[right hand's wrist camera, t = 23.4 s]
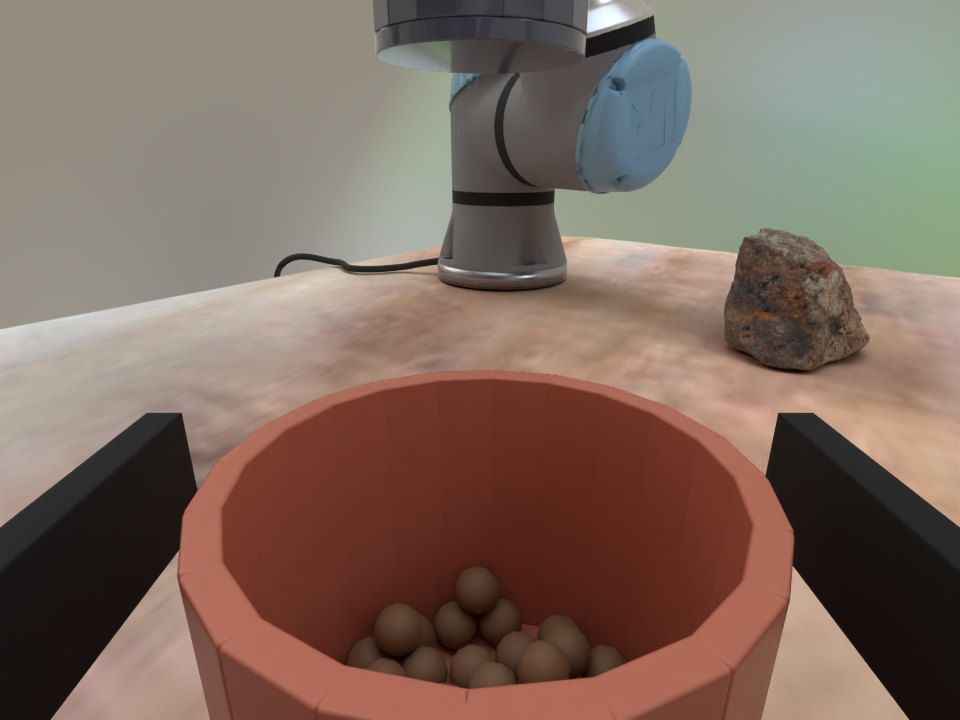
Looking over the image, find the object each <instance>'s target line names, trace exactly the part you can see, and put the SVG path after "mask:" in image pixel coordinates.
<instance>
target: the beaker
mask: <svg viewBox="0 0 960 720" xmlns="http://www.w3.org/2000/svg"><path fill="white" fill-rule="evenodd" d="M588 11H589V0H373V19H374V37H375V55H376V57H377V58H378V59H379V60H381V61H383V62H385V63H388V64H391V65H395V66H399V67H404V68H410V69H417V70H425V71H435V72H449V73H474V74H498V73H523V72H536V71H545V70H553V69H559V68H564V67H568V66H572V65H575V64H577V63H580V62H581V61H583V60H584V58H585V53H586V39H587V26H588Z"/></svg>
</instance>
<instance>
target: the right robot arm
mask: <svg viewBox="0 0 960 720" xmlns="http://www.w3.org/2000/svg"><path fill="white" fill-rule="evenodd" d="M766 478H767V479H768V480H769V482H770V484H771V486H772V488H773V490H774V492H775V494H776V496H777V498H778V500H779V502H780V504H781V506H782V509H783V511H784V513H785V515H786V517H787V519H788V521H789V523H790V525H791V527H792V529H793V531H794V534H793V535H794V538H795V541H794V554H793V567H794V568H795V569H796V571H797V572H798V573H799V575H800V576H801V577H802V578H803V580H804V581H805V582H806V584H807V585H808V586H809V588H810V589H811V590H812V592H813V593H814V594H815V596H816V597H817V598H818V600H819V601H820V602H821V604H822V605H823V606H824V608H825V609H826V610H827V611H828V613H829V614H830V615H831V617H832V618H833V619H834V621H835V622H836V623H837V625H838V626H839V627H840V629H841V630H842V631H843V633H844V634H845V635H846V637H847V638H848V639H849V641H850V642H851V643H852V644H853V646H854V647H855V648H856V650H857V651H858V652H859V654H860V655H861V656H862V658H863V659H864V660H865V662H866V663H867V664H868V666H869V667H870V668H871V670H872V671H873V672H874V674H875V675H876V676H877V677H878V679H879V680H880V681H881V683H882V684H883V685H884V687H885V688H886V689H887V691H888V692H889V693H890V695H891V696H892V697H893V699H894V700H895V701H896V703H897V704H898V705H899V707H900V708H901V709H902V710H903V712H904V713H905V714H906V716H907V717H908V718H909V720H960V527H958V526H957V525H956V524H955V523H953V522H952V521H951V520H950V519H948V518H947V517H946V516H944V515H943V514H942V513H941V512H939V511H938V510H937V509H935V508H934V507H933V506H932V505H930V504H929V503H928V502H926V501H925V500H924V499H923V498H921V497H920V496H919V495H918V494H916V493H915V492H914V491H912V490H911V489H910V488H909V487H907V486H906V485H905V484H903V483H902V482H901V481H900V480H898V479H897V478H896V477H894V476H893V475H892V474H891V473H889V472H888V471H887V470H886V469H884V468H883V467H882V466H880V465H879V464H878V463H877V462H875V461H874V460H873V459H871V458H870V457H869V456H868V455H866V454H865V453H864V452H862V451H861V450H860V449H859V448H857V447H856V446H855V445H854V444H852V443H851V442H850V441H848V440H847V439H846V438H845V437H843V436H842V435H841V434H839V433H838V432H837V431H836V430H834V429H833V428H832V427H831V426H829V425H828V424H827V423H825V422H824V421H823V420H822V419H820V418H819V417H818V416H816V415H815V414H814V413H778V417H777V422H776V427H775V432H774V437H773V442H772V447H771V452H770V457H769V462H768V467H767V471H766ZM196 492H197V486H196V481H195V476H194V471H193V467H192V462H191V457H190V452H189V447H188V442H187V437H186V432H185V427H184V422H183V417H182V413H146V414H145V415H144V416H142V417H141V418H140V419H138V420H137V421H136V422H135V423H133V424H132V425H131V426H129V427H128V428H127V429H126V430H124V431H123V432H122V433H121V434H119V435H118V436H117V437H115V438H114V439H113V440H112V441H110V442H109V443H108V444H106V445H105V446H104V447H103V448H101V449H100V450H99V451H97V452H96V453H95V454H94V455H92V456H91V457H90V458H89V459H87V460H86V461H85V462H83V463H82V464H81V465H80V466H78V467H77V468H76V469H74V470H73V471H72V472H71V473H69V474H68V475H67V476H66V477H64V478H63V479H62V480H60V481H59V482H58V483H57V484H55V485H54V486H53V487H51V488H50V489H49V490H48V491H46V492H45V493H44V494H42V495H41V496H40V497H39V498H37V499H36V500H35V501H34V502H32V503H31V504H30V505H28V506H27V507H26V508H25V509H23V510H22V511H21V512H19V513H18V514H17V515H16V516H14V517H13V518H12V519H10V520H9V521H8V522H7V523H5V524H4V525H3V526H2V527H0V720H51V718H52V717H53V716H54V714H55V713H56V712H57V710H58V709H59V708H60V707H61V705H62V704H63V703H64V701H65V700H66V699H67V697H68V696H69V695H70V693H71V692H72V691H73V689H74V688H75V687H76V685H77V684H78V683H79V681H80V680H81V679H82V677H83V676H84V675H85V674H86V672H87V671H88V670H89V668H90V667H91V666H92V664H93V663H94V662H95V660H96V659H97V658H98V656H99V655H100V654H101V652H102V651H103V650H104V648H105V647H106V646H107V644H108V643H109V642H110V641H111V639H112V638H113V637H114V635H115V634H116V633H117V631H118V630H119V629H120V627H121V626H122V625H123V623H124V622H125V621H126V619H127V618H128V617H129V615H130V614H131V613H132V611H133V610H134V609H135V608H136V606H137V605H138V604H139V602H140V601H141V600H142V598H143V597H144V596H145V594H146V593H147V592H148V590H149V589H150V588H151V586H152V585H153V584H154V582H155V581H156V580H157V578H158V577H159V576H160V574H161V573H162V572H163V571H164V569H165V568H166V567H167V565H168V564H169V563H170V561H171V560H172V559H173V557H174V556H175V555H176V553H177V552H178V551H179V549H180V538H181V526H182V517H183V515H184V511H185V509H186V508H187V506H188V505H189V503H190V502H191V500H192V499H193V497H194V496H195V494H196Z"/></svg>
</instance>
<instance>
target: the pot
mask: <svg viewBox="0 0 960 720" xmlns="http://www.w3.org/2000/svg"><path fill="white" fill-rule="evenodd" d="M793 534H794V531H793V529H792V527H791V525H790V523H789V521H788V519H787V517H786V515H785V513H784V511H783V509H782V506H781V504H780V502H779V500H778V498H777V496H776V494H775V492H774V490H773V488H772V486H771V484H770V482H769V480H768V479H767V478H766V476H765V475H764V474H763V473H762V472H761V471H760V470H759V469H758V468H756V467H755V466H754V465H753V464H752V463H751V462H750V461H749V460H748V459H747V458H746V457H745V456H744V455H742V454H741V453H740V452H739V451H738V450H737V449H736V448H735V447H734V446H733V445H732V444H731V443H729V442H728V441H727V440H726V439H725V438H724V437H722V436H720V435H719V434H717V433H716V432H714V431H712V430H710V429H708V428H707V427H705V426H703V425H701V424H699V423H698V422H696V421H694V420H692V419H690V418H689V417H687V416H685V415H683V414H681V413H680V412H678V411H676V410H674V409H672V408H670V407H667V406H666V405H663V404H660V403H658V402H655V401H652V400H649V399H646V398H643V397H640V396H637V395H635V394H632V393H629V392H626V391H623V390H620V389H617V388H614V387H610V386H607V385H602V384H597V383H592V382H587V381H582V380H577V379H572V378H567V377H562V376H557V375H550V374H538V373H525V372H512V371H499V370H494V371H492V370H478V371H452V372H435V373H426V374H420V375H414V376H407V377H401V378H395V379H388V380H382V381H377V382H371V383H368V384H365V385H361V386H358V387H355V388H351V389H348V390H344V391H341V392H338V393H334V394H331V395H328V396H324V397H321V398H319V399H317V400H314V401H312V402H310V403H308V404H306V405H304V406H302V407H300V408H298V409H295V410H293V411H291V412H289V413H287V414H285V415H283V416H281V417H279V418H277V419H275V420H273V421H271V422H269V423H267V424H265V426H262V427H260V428H259V429H258V430H256V431H255V432H254V433H253V434H251V435H250V436H249V437H248V438H246V439H245V440H244V441H243V442H241V443H240V444H239V445H238V446H236V447H235V448H234V449H232V450H231V451H230V452H229V453H227V454H226V455H225V456H224V457H222V458H221V459H220V460H219V461H218V462H217V464H215V465H214V466H213V468H212V469H211V471H210V472H209V474H208V475H207V477H206V479H205V480H204V482H203V483H202V485H201V486H200V488H199V489H198V491H197V492H196V494H195V496H194V497H193V499H192V500H191V502H190V503H189V505H188V506H187V508H186V509H185V511H184V515H183V517H182V526H181V538H180V549H179V561H178V573H177V578H178V582H179V587H180V591H181V596H182V600H183V604H184V608H185V613H186V617H187V621H188V626H189V630H190V634H191V639H192V643H193V647H194V652H195V656H196V660H197V664H198V669H199V673H200V677H201V682H202V686H203V690H204V695H205V699H206V703H207V708H208V712H209V716H210V720H761V717H762V713H763V709H764V705H765V700H766V696H767V692H768V688H769V684H770V680H771V676H772V672H773V667H774V663H775V659H776V655H777V651H778V647H779V643H780V638H781V634H782V630H783V626H784V622H785V618H786V614H787V610H788V605H789V601H790V592H791V579H792V567H793V554H794V541H795V538H794V535H793ZM473 566H478V567H485V568H487V569H488V570H489V571H491V572H492V573H493V574H494V575H495V576H496V578H497V581H498V583H499V585H500V590H499V598H502V599H508V600H510V601H511V602H512V603H513V604H515V605H516V606H517V607H518V609H519V612H520V614H521V616H522V627H521V632H524V633H528V634H529V635H530V636H532V637H533V638H534V639H536V640H537V638H538V629H539V627H540V626H541V624H542V623H543V622H544V620H545V619H546V618H548V617H550V616H551V615H553V614H560V615H566V616H569V617H570V618H571V619H572V620H574V621H575V622H576V623H577V625H578V627H579V628H580V630H581V632H582V633H584V635H585V637H586V638H587V640H588V642H589V644H590V646H591V649H593V648H595V647H596V646H598V645H599V644H600V645H605V646H610V647H614V648H615V649H617V650H618V651H619V652H620V653H621V654H623V656H624V658H625V659H626V661H627V663H626V664H623V665H621V666H619V667H616V668H614V669H612V670H609V671H607V672H605V673H602V674H600V675H598V676H595V677H590V678H582V677H581V675H579V676H578V677H576V678H574V679H569V680H559V681H548V682H537V683H527V684H516V685H506V686H495V687H485V688H474V689H465V688H460V687H455V686H450V685H444V684H439V683H434V682H429V681H423V680H418V679H413V678H408V677H402V676H397V675H392V674H387V673H381V672H376V671H371V670H366V669H360V668H355V667H350V666H346V664H347V658H348V653H349V651H350V650H351V649H352V648H353V646H354V645H355V644H356V642H358V641H360V640H362V639H364V638H366V637H369V636H370V637H375V635H374V630H375V623H376V618H377V617H378V616H379V614H380V613H381V612H382V610H383V609H384V608H385V607H388V606H390V605H392V604H395V603H400V604H406V605H409V606H410V607H412V608H413V609H414V610H416V611H417V612H419V613H421V614H422V615H424V616H425V617H426V618H428V619H429V620H430V623H431V625H432V628H433V627H434V618H435V615H436V613H437V612H438V611H439V609H440V608H441V607H442V605H444V604H447V603H449V602H451V601H457V602H458V600H457V598H456V595H455V589H456V580H457V579H458V578H459V576H460V575H461V574H462V572H463V571H464V570H466V569H468V568H471V567H473ZM475 616H476V618H477V621H478V622H477V632H476V635H475V637H474V638H473V639H472V641H471V642H470V643H469V644H472V645H477V646H482V647H483V648H485V649H486V650H487V651H489V652H490V653H491V654H492V655H493V657H494V660H495V657H496V647H497V646H498V645H495V644H492V643H491V642H489V641H488V640H486V639H485V638H484V637H483V636H482V633H481V631H480V628H479V626H478V623H479V614H476V613H475ZM433 631H434V629H433ZM431 647H432V648H434V649H435V650H437V651H438V652H439V653H441V654H442V655H443V656H444V659H445V662H446V665H447V667H448V673H447V683H449V684H452V683H451V680H450V677H449V670H450V661H451V660H452V658H453V657H454V656H455V654H456V653H457V652H458V650H456V649H451V648H447V647H445V646H444V645H443V644H441V643H440V642H439V641H437V638H436V635H435V632H434V633H433V642H432V646H431ZM459 650H460V649H459ZM393 657H394V660H395V661H396V662H397V663H399V664H400V665H401V662H402V661H403V660H402V659H400V658H399V657H398V656H393Z"/></svg>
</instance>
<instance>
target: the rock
mask: <svg viewBox="0 0 960 720" xmlns="http://www.w3.org/2000/svg"><path fill="white" fill-rule="evenodd" d="M724 317H725V339H726V341H727V343H728V345H729V346H731V347H733V348H735V349H738V350H742V351H744V352H747V353H749V354H751V355H752V356H754V357H755V358H756V359H757V360H759V361H760V362H761V363H763V364H766V365H769V366H773V367H778V368H784V369H799V370H812V369H815V368H817V367H819V366H821V365H824V363H827V362H830V361H835V360H839V359H842V358H847V357H848V356H849V355H850V354H855V353H856V352H857V351H858V350H860V349H862V348H863V347H864V346H865V345H866V344H867V343H868V342H869V338H870V337H869V335H868V333H867V331H866V329H865V328H864V326H863V324H862V323H861V322H860V321H861V317H860V315H859V314H858V312H857V311H856V309H855V308H854V303H853V296H852V293H851V288H850V286H849V284H848V282H847V281H846V278H845V276H844V273H843V269H842V268H841V267H839V266H838V265H837V264H836V263H835V262H834V261H832V260H831V259H830V257H829V255H828V254H827V253H826V252H825V251H824V249H823V248H822V247H820V246H818V245H817V244H816V243H815V242H814V241H811V240H809V239H808V238H807V237H803V236H797V235H793V234H791V233H788V232H784V231H781V230H780V231H779V230H773V229H769V228H765V229H760V232H759V233H758V234H757V235H753V236H749V237H745V238H744V239H743V243H742V244H741V246H740V249H739V254H738V258H737V261H736V272H735V276H734V281H733V282H732V285H731V289H730V291H729V293H728V296H727V299H726V302H725V308H724Z"/></svg>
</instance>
